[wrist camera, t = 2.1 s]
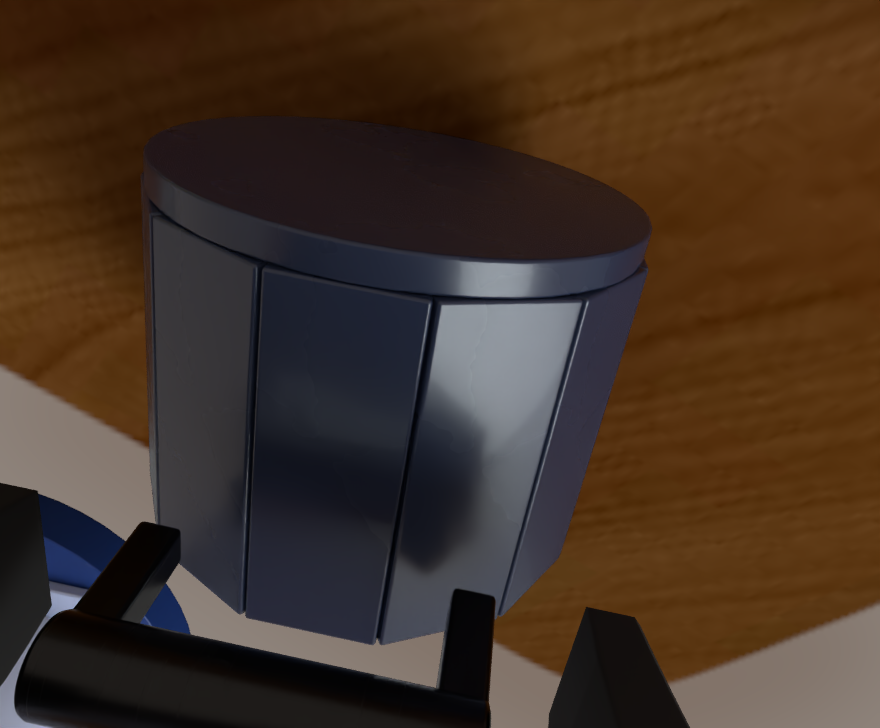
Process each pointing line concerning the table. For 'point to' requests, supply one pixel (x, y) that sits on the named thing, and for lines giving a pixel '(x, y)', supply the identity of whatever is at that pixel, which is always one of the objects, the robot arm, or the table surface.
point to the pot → (348, 417)
